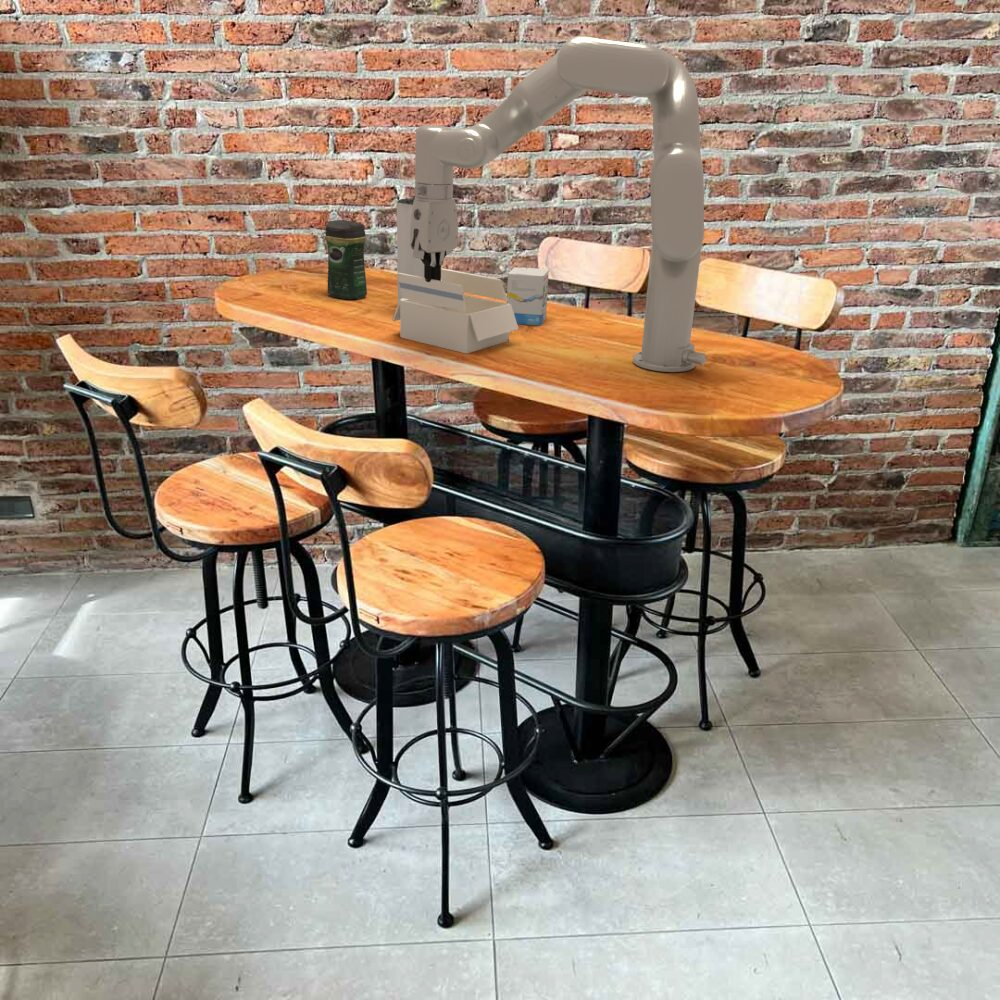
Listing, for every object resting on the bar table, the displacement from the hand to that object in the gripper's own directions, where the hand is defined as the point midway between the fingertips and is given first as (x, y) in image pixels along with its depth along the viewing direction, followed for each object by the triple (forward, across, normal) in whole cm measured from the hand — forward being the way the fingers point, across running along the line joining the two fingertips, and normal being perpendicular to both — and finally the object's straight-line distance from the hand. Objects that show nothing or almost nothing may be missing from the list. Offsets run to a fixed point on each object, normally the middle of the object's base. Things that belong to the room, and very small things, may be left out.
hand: (432, 284), depth 201 cm
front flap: (+4, 0, 0) cm, 4 cm away
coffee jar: (+13, +20, +46) cm, 52 cm away
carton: (+13, +7, 0) cm, 15 cm away
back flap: (+4, +14, 0) cm, 15 cm away
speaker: (+13, +20, +22) cm, 32 cm away
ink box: (+13, +32, -1) cm, 35 cm away
